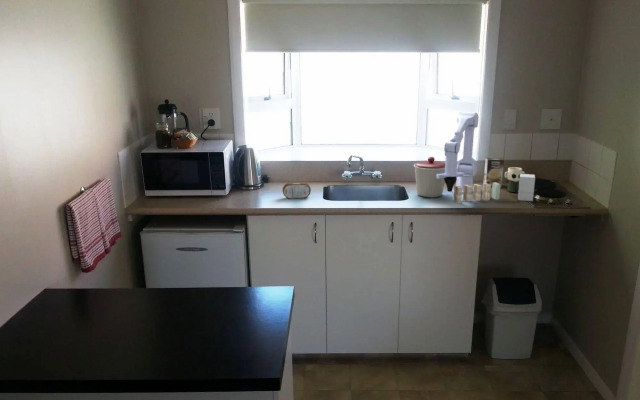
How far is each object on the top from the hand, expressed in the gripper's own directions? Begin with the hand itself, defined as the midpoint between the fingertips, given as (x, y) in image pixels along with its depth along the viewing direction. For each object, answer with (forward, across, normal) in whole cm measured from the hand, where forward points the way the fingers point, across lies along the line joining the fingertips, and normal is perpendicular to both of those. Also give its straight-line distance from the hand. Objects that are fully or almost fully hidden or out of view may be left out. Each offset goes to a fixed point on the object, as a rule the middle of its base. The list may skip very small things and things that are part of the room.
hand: (449, 191), depth 264 cm
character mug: (+6, +44, +9) cm, 45 cm away
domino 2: (+6, +10, 0) cm, 12 cm away
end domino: (+6, +27, 0) cm, 27 cm away
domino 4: (+6, +21, 0) cm, 22 cm away
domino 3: (+6, +16, 0) cm, 17 cm away
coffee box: (+6, +40, +23) cm, 46 cm away
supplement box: (+6, +41, -6) cm, 42 cm away
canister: (+6, -3, +15) cm, 17 cm away
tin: (+6, -73, +31) cm, 80 cm away
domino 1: (+6, +5, 0) cm, 8 cm away
